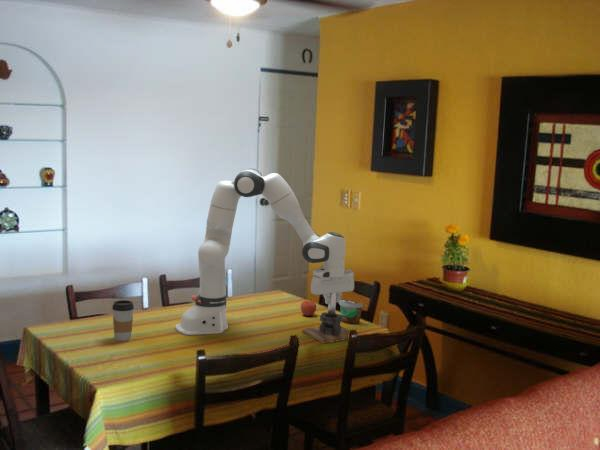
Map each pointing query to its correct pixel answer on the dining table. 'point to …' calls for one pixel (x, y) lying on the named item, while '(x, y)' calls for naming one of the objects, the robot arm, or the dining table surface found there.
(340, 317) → the collar stand
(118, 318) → the coffee cup
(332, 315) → the air tube
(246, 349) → the dining table surface
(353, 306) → the food container
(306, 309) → the apple
